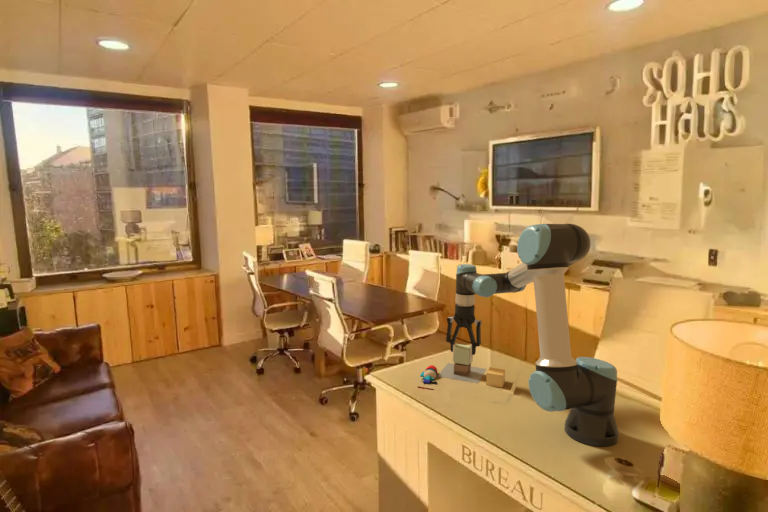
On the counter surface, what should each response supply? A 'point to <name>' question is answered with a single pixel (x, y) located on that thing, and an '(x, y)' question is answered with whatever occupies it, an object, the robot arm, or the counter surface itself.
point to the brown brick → (462, 369)
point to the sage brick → (462, 354)
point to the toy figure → (429, 376)
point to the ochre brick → (495, 377)
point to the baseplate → (472, 376)
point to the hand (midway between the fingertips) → (462, 360)
